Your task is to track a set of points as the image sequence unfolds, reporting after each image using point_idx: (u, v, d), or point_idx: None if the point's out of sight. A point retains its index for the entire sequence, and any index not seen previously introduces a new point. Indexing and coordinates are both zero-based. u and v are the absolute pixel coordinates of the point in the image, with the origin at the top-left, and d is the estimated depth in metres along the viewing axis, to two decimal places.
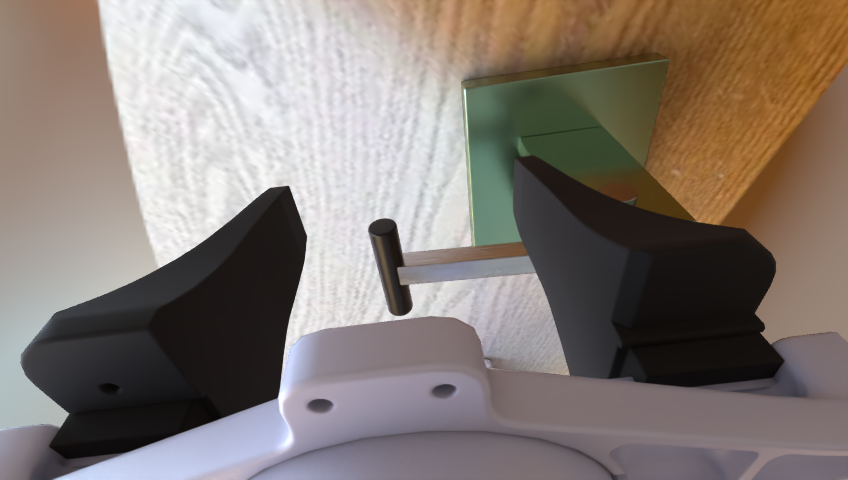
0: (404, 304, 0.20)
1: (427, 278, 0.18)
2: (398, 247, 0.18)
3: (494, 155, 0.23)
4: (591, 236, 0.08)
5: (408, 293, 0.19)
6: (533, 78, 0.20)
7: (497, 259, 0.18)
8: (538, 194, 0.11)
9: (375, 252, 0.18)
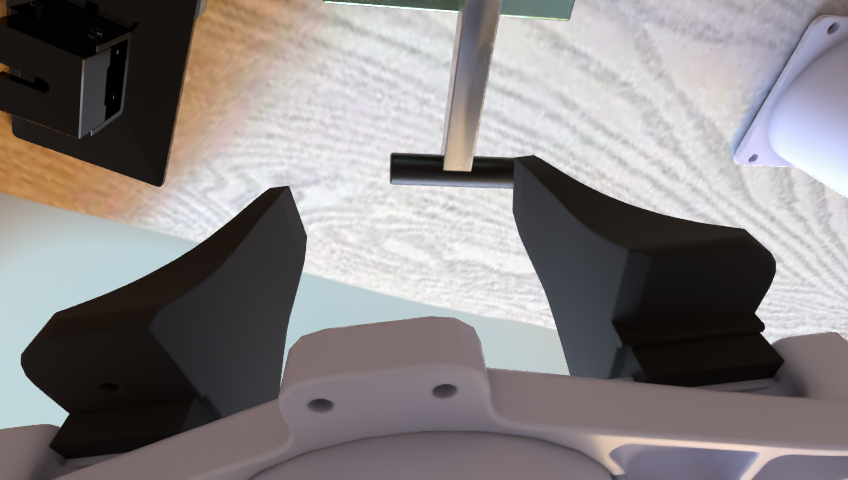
0: (503, 173, 0.16)
1: (468, 141, 0.15)
2: (418, 160, 0.16)
3: None
4: (592, 236, 0.08)
5: (492, 163, 0.16)
6: None
7: (460, 48, 0.13)
8: (538, 194, 0.11)
9: None
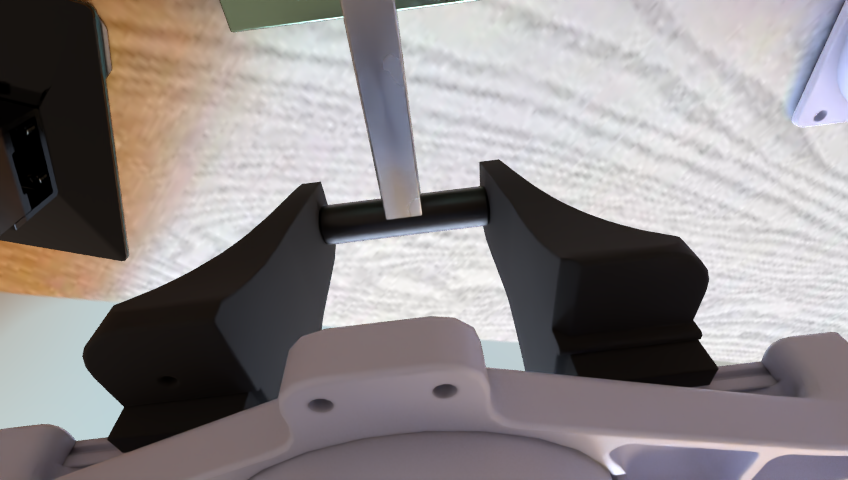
0: (465, 210, 0.12)
1: (407, 180, 0.11)
2: (352, 212, 0.12)
3: None
4: (536, 243, 0.08)
5: (449, 199, 0.12)
6: None
7: (356, 67, 0.09)
8: (498, 199, 0.11)
9: (360, 240, 0.13)
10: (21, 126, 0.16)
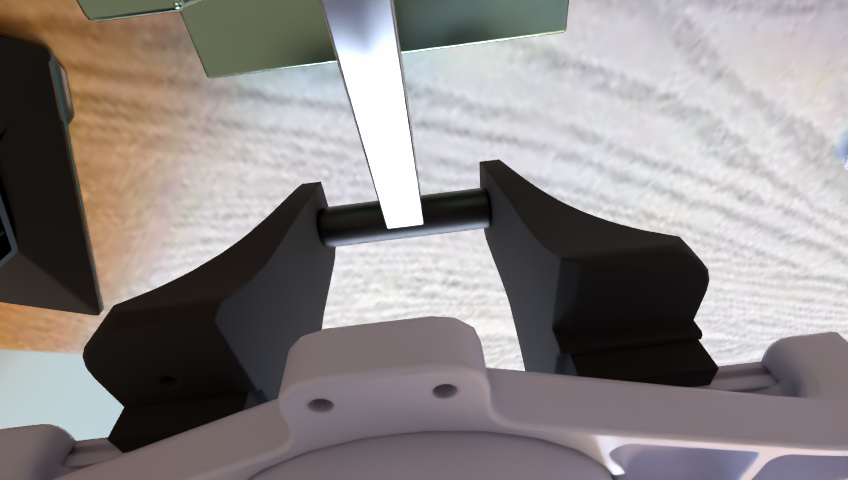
0: (467, 218, 0.12)
1: (409, 200, 0.11)
2: (352, 221, 0.12)
3: (320, 10, 0.12)
4: (535, 243, 0.08)
5: (451, 207, 0.12)
6: None
7: (356, 115, 0.08)
8: (498, 199, 0.11)
9: None
10: None
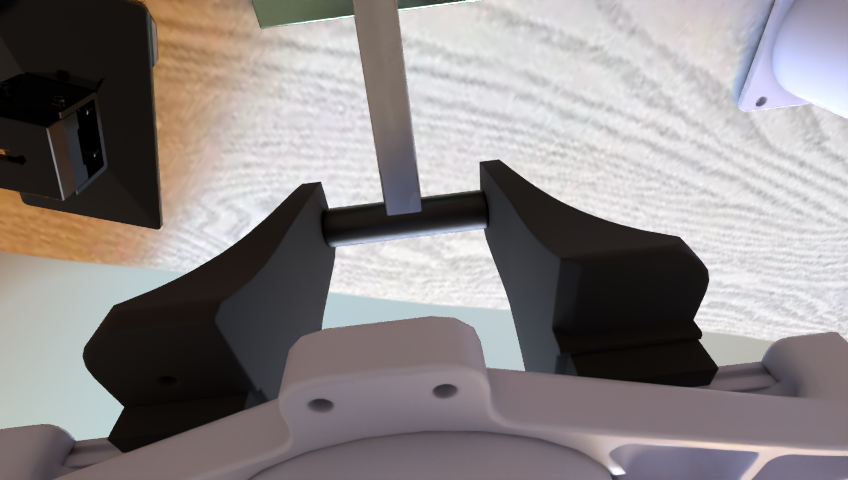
0: (464, 206, 0.12)
1: (407, 171, 0.12)
2: (354, 210, 0.12)
3: None
4: (535, 243, 0.08)
5: (448, 198, 0.12)
6: None
7: (363, 56, 0.11)
8: (498, 199, 0.11)
9: (361, 242, 0.13)
10: (82, 107, 0.19)
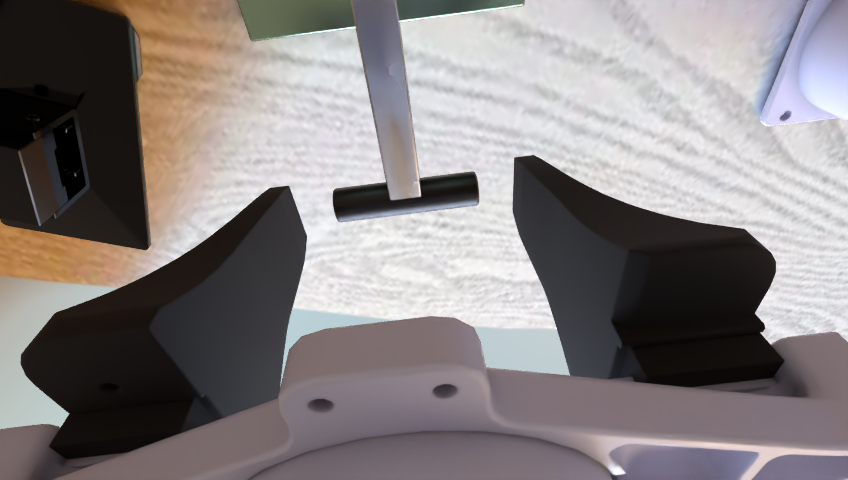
0: (458, 192, 0.14)
1: (408, 167, 0.13)
2: (361, 194, 0.14)
3: None
4: (592, 236, 0.08)
5: (444, 183, 0.14)
6: None
7: (367, 73, 0.11)
8: (538, 194, 0.11)
9: (368, 218, 0.15)
10: (61, 125, 0.18)
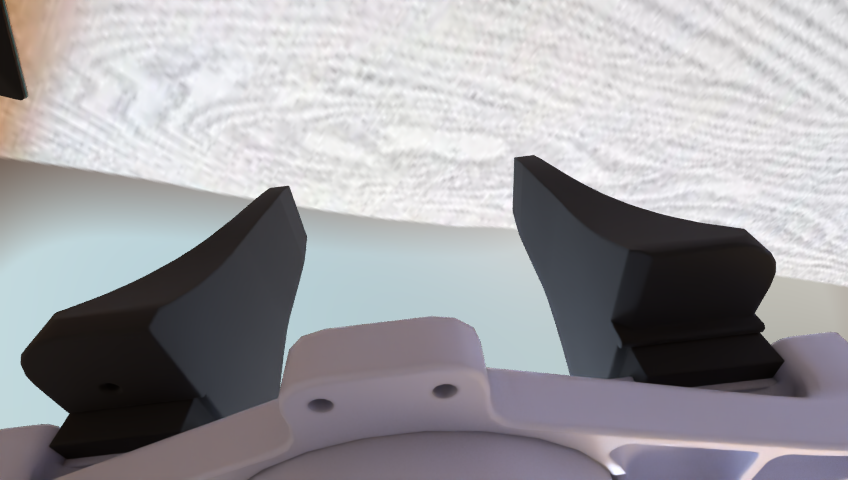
0: None
1: None
2: None
3: None
4: (592, 236, 0.08)
5: None
6: None
7: None
8: (538, 194, 0.11)
9: None
10: None
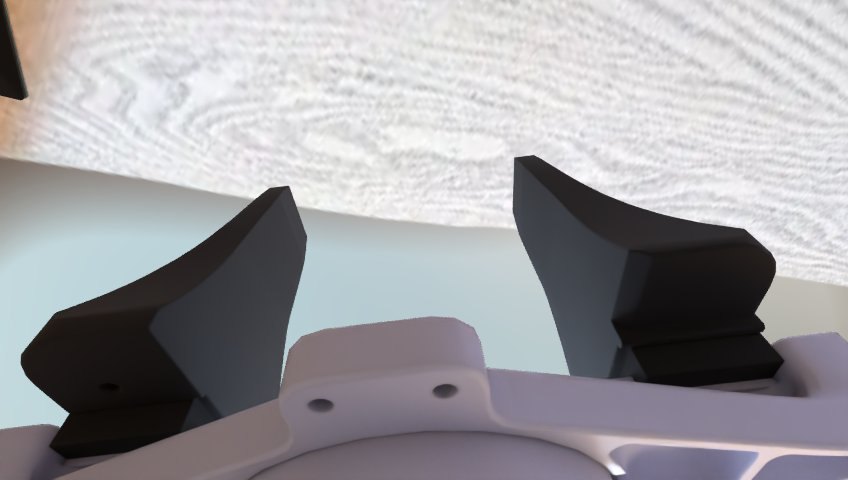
0: None
1: None
2: None
3: None
4: (592, 236, 0.08)
5: None
6: None
7: None
8: (538, 194, 0.11)
9: None
10: None
